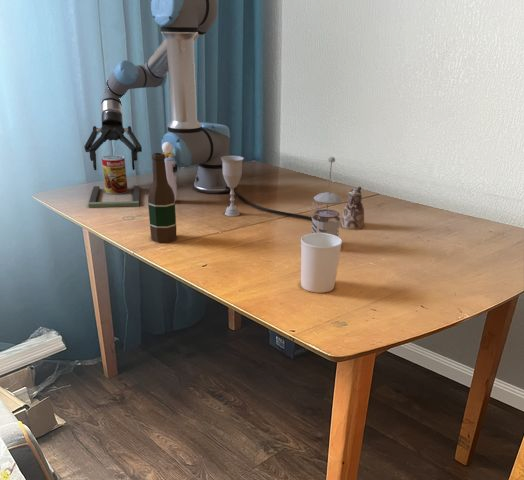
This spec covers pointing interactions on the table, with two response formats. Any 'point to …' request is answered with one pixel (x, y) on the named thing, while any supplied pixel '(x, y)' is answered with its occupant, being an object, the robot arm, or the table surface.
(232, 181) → the chalice
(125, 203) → the tray
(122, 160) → the canned food
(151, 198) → the beer bottle
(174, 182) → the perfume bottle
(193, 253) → the table surface
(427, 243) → the table surface
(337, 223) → the french press
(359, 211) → the figurine
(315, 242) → the white cup
